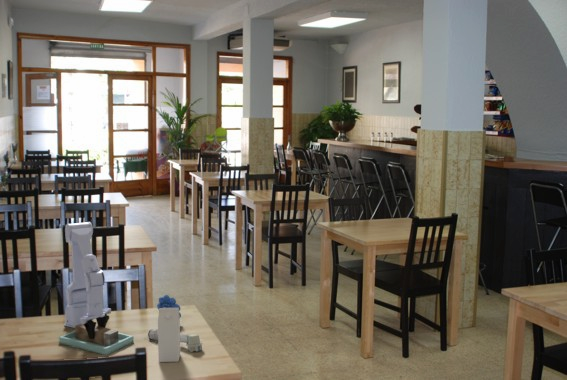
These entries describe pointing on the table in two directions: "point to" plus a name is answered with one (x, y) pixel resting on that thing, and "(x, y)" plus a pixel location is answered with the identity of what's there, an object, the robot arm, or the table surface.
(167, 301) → the grapes
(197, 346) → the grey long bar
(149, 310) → the table surface
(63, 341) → the tray
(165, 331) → the milk carton
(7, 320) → the table surface
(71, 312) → the robot arm
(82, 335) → the walnut strut
